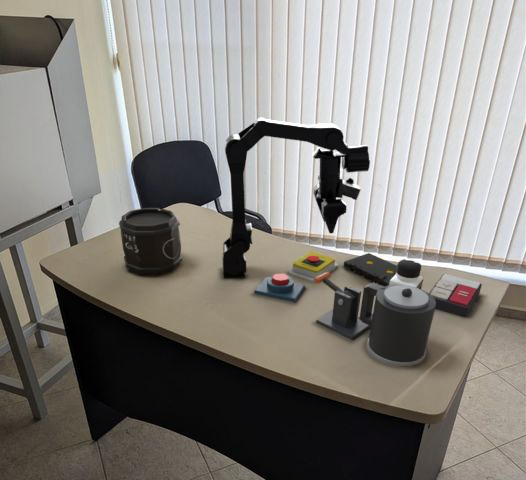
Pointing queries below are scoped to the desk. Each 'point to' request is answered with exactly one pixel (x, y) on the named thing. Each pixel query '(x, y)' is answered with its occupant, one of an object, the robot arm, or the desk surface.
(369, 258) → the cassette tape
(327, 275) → the switch lever
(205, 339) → the desk surface
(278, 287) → the blue button base
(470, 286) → the grey red panel box
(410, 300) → the kettle
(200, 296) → the desk surface
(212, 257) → the desk surface
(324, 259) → the emergency button
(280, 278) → the power button
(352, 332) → the switch base
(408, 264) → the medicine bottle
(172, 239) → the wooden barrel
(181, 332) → the desk surface
